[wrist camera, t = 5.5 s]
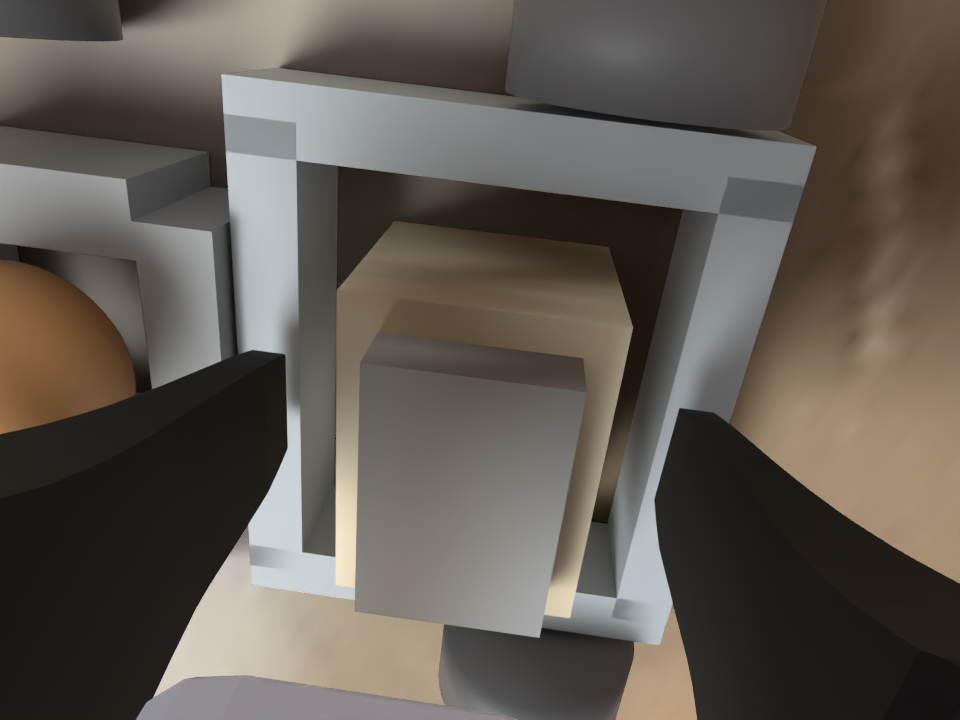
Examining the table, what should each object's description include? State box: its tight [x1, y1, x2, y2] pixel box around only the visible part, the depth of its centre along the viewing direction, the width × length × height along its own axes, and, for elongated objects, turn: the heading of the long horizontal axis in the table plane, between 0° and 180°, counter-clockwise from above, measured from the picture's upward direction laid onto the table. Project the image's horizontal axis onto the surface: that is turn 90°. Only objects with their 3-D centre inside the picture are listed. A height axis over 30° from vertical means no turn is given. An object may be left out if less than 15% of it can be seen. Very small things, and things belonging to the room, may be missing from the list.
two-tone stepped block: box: [335, 221, 633, 638], centre depth 13 cm, size 4×6×6 cm
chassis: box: [0, 0, 828, 720], centre depth 13 cm, size 17×15×4 cm
